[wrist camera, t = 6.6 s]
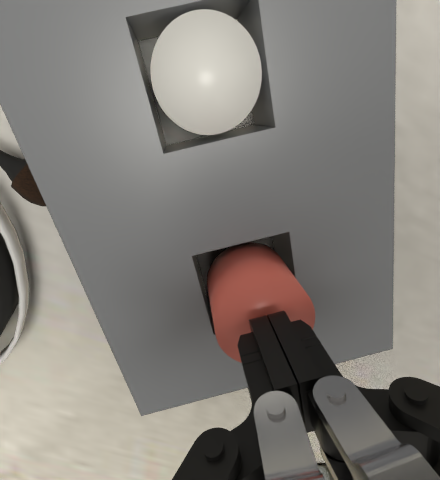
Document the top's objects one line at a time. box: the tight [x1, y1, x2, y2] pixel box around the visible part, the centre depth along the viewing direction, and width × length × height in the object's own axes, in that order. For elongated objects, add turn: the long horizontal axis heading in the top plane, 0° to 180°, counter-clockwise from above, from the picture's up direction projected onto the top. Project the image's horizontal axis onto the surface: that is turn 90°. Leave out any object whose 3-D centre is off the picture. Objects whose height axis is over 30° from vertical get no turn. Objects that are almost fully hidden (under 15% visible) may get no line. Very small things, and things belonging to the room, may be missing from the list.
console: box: [0, 0, 396, 416], centre depth 16 cm, size 16×24×4 cm, turn 12°
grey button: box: [150, 9, 262, 135], centre depth 14 cm, size 4×4×4 cm
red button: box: [207, 242, 315, 363], centre depth 15 cm, size 4×4×4 cm
